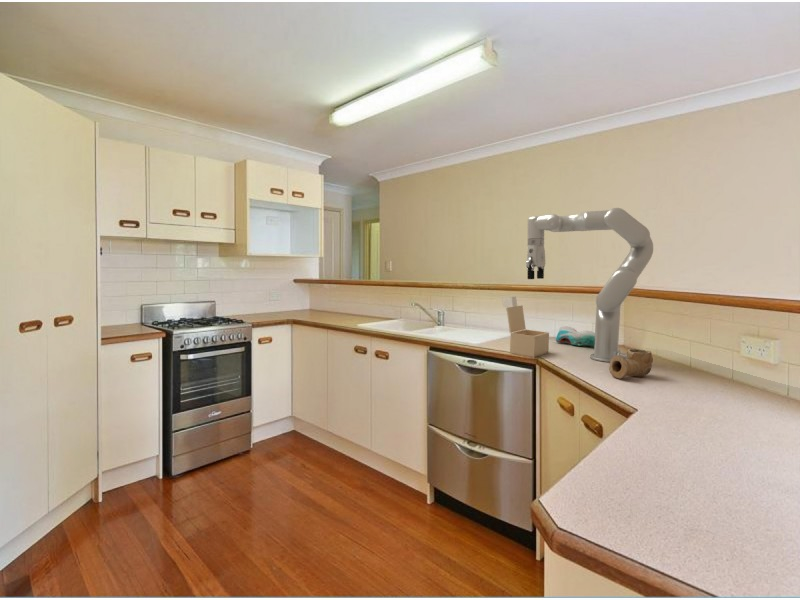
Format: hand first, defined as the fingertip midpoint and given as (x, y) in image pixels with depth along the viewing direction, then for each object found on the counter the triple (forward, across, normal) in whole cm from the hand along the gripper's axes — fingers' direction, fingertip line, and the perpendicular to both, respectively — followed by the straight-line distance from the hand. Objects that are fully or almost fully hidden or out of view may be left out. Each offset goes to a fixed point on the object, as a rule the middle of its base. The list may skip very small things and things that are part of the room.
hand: (535, 278), depth 195 cm
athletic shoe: (+36, +32, -10) cm, 49 cm away
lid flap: (+17, -4, +8) cm, 19 cm away
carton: (+35, -5, +1) cm, 36 cm away
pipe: (+37, -15, -46) cm, 61 cm away
